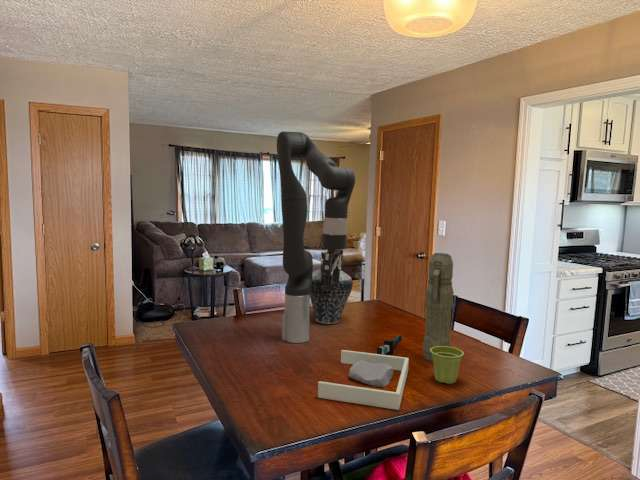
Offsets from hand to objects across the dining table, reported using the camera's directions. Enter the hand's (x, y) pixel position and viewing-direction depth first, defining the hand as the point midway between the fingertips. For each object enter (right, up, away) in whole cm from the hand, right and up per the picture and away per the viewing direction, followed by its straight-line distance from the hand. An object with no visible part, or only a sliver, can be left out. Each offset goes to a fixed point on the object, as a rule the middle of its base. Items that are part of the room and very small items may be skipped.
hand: (331, 284), depth 136 cm
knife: (+21, -25, +17) cm, 37 cm away
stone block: (+11, -27, -8) cm, 30 cm away
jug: (0, -21, +51) cm, 55 cm away
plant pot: (+33, -27, -7) cm, 44 cm away
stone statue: (+35, -26, +11) cm, 45 cm away
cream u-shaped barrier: (+9, -27, -11) cm, 30 cm away
